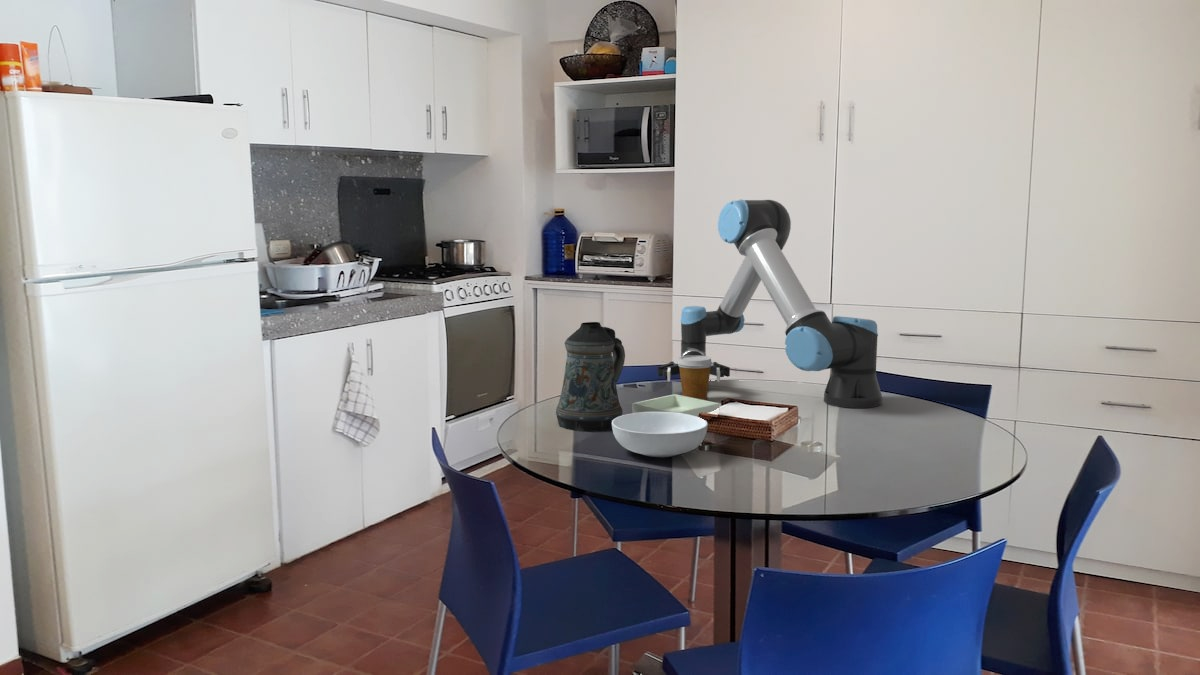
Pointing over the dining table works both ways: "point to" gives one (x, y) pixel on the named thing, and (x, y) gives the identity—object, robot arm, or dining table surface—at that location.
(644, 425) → the serving bowl
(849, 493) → the dining table surface
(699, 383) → the disposable coffee cup
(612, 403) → the beer stein
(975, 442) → the dining table surface
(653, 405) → the tray
